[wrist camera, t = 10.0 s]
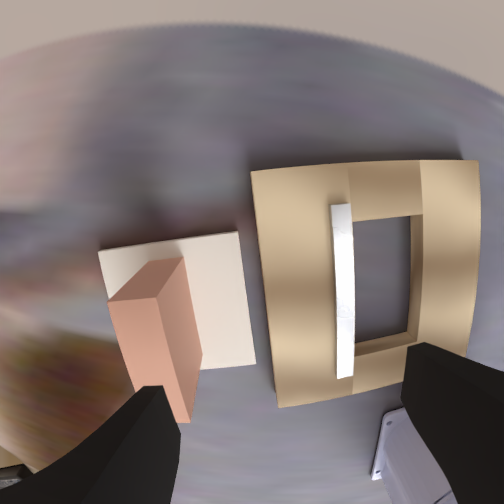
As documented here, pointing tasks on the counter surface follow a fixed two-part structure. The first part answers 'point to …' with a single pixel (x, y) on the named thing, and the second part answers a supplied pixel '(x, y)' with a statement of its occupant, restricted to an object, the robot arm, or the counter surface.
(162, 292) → the peach cuboid
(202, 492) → the counter surface
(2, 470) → the multiport hub
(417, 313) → the gold flat square frame
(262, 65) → the counter surface
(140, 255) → the pad
